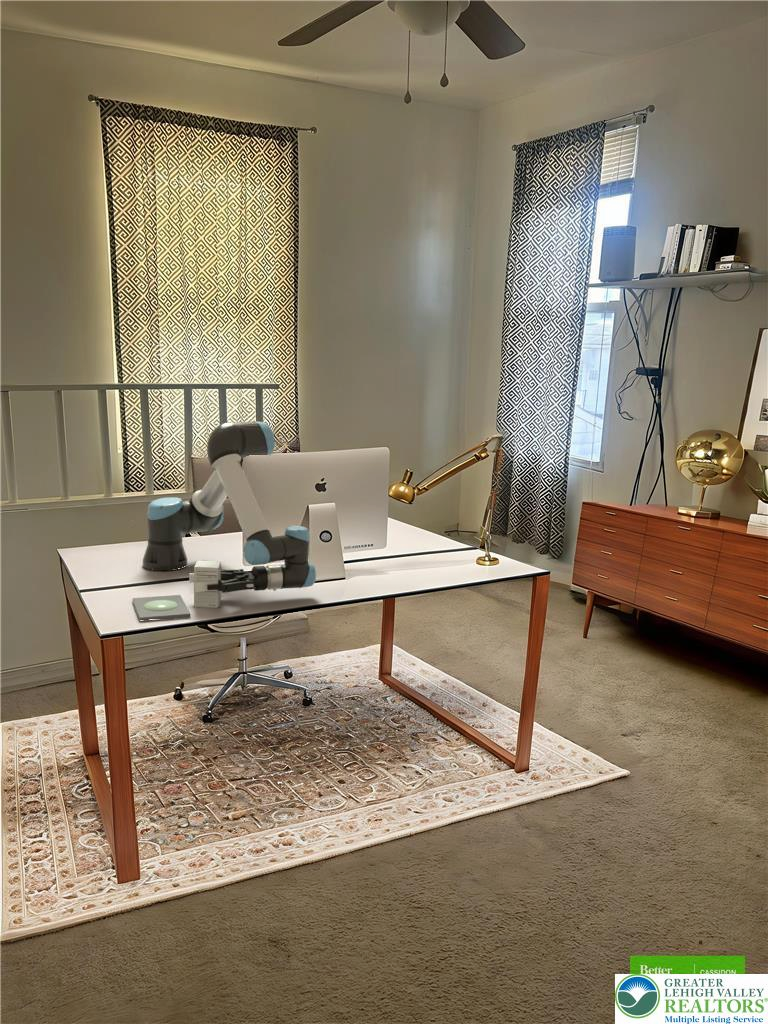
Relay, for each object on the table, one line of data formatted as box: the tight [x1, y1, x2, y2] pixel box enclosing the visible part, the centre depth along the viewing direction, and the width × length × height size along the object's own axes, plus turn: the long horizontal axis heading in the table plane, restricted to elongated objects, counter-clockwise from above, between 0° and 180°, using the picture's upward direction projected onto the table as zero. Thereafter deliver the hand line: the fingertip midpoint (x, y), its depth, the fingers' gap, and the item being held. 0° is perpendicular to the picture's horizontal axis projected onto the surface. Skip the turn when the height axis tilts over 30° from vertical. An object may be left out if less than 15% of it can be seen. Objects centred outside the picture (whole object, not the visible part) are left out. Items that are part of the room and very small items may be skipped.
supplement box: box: [193, 560, 222, 609], centre depth 239 cm, size 7×7×13 cm
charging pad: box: [132, 594, 191, 621], centre depth 233 cm, size 18×14×1 cm
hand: (192, 582), depth 237 cm, fingers closed on supplement box, 9 cm apart
